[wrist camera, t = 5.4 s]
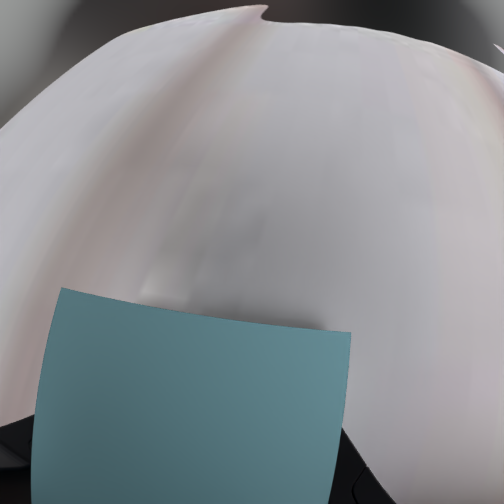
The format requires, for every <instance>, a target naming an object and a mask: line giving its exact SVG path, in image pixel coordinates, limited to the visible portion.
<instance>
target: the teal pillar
mask: <svg viewBox="0 0 504 504" xmlns="http://www.w3.org/2000/svg"><path fill="white" fill-rule="evenodd" d="M350 342H351V332H338V331H326V330H315V329H305V328H295V327H286V326H277V325H268V324H260V323H252V322H245V321H237V320H230V319H223V318H216V317H209V316H203V315H197V314H190V313H184V312H178V311H173V310H167V309H161V308H156V307H150V306H145V305H140V304H135V303H130V302H125V301H120V300H115V299H110V298H105V297H101V296H96V295H92V294H87V293H83V292H78V291H74V290H70V289H66V288H62V287H61V291H60V294H59V297H58V301H57V304H56V308H55V312H54V315H53V319H52V323H51V327H50V331H49V335H48V340H47V344H46V349H45V354H44V358H43V364H42V369H41V374H40V380H39V386H38V393H37V400H36V408H35V417H34V426H33V439H32V456H31V501H32V504H328V501H329V496H330V491H331V486H332V481H333V476H334V471H335V466H336V460H337V454H338V448H339V442H340V435H341V428H342V421H343V414H344V406H345V397H346V388H347V378H348V368H349V356H350Z"/></svg>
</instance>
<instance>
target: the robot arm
mask: <svg viewBox="0 0 504 504" xmlns="http://www.w3.org/2000/svg"><path fill="white" fill-rule="evenodd" d="M34 417H35V414H34V415H31V416H29V417H26V418H24V419H21V420H19V421H16V422H13V423H10V424H8V425H5V426H2V427H0V504H32V501H31V456H32V439H33V426H34ZM366 466H367V465H366V463H365V462H364V460H363V459H362V457H361V456H360V454H359V452H358V451H357V449H356V448H355V446H354V445H353V443H352V442H351V440H350V439H349V437H348V436H347V434H346V433H345V431H344V430H343V428H341V435H340V442H339V448H338V454H337V460H336V466H335V471H334V476H333V481H332V486H331V491H330V496H329V501H328V504H396V503H395V502H394V500H393V499H392V498H391V497H390V496H389V495H388V493H387V492H386V491H385V490H384V489H383V487H382V486H381V485H380V483H379V482H378V481H377V479H376V478H375V476H374V475H373V474H372V472H371V470H370V469H369V467H366Z"/></svg>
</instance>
